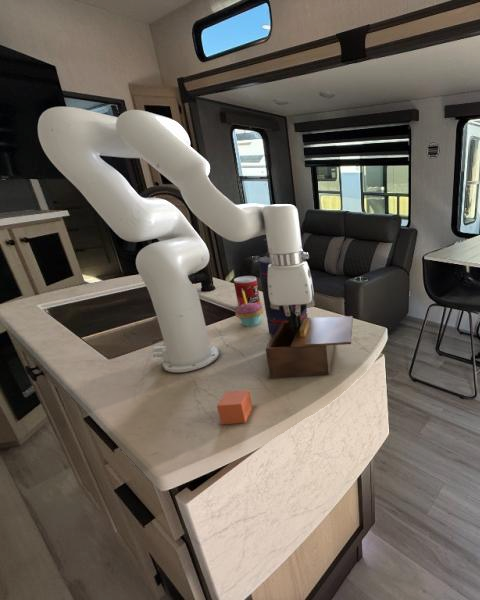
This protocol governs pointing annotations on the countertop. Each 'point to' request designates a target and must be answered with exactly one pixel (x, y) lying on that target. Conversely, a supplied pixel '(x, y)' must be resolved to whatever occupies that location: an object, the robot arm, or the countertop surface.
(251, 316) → the cupcake
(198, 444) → the countertop surface
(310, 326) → the sliding door
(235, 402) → the block
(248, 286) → the canned food
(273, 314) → the grenade
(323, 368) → the storage box
